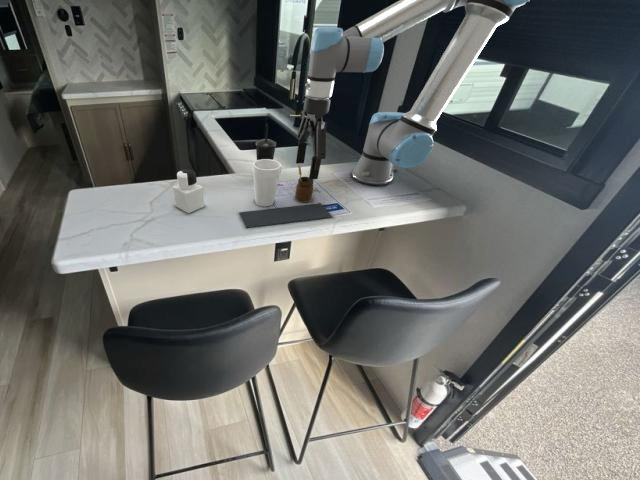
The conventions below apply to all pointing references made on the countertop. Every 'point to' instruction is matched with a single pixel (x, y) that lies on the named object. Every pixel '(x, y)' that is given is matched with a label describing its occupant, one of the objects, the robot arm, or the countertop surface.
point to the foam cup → (265, 180)
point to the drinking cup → (265, 148)
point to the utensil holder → (304, 188)
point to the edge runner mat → (284, 215)
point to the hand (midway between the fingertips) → (306, 170)
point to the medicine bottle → (188, 192)
